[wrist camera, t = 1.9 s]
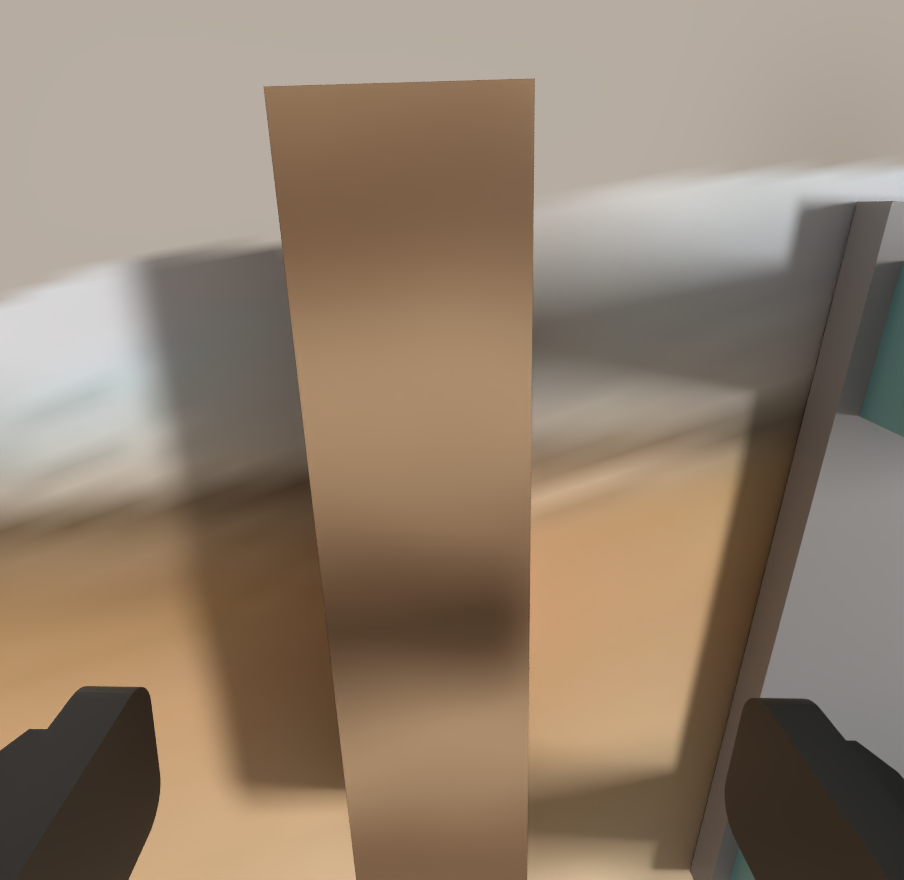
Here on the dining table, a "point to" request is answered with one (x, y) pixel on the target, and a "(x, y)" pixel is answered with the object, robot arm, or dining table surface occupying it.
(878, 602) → the bracket stand
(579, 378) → the dining table surface
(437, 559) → the rail
